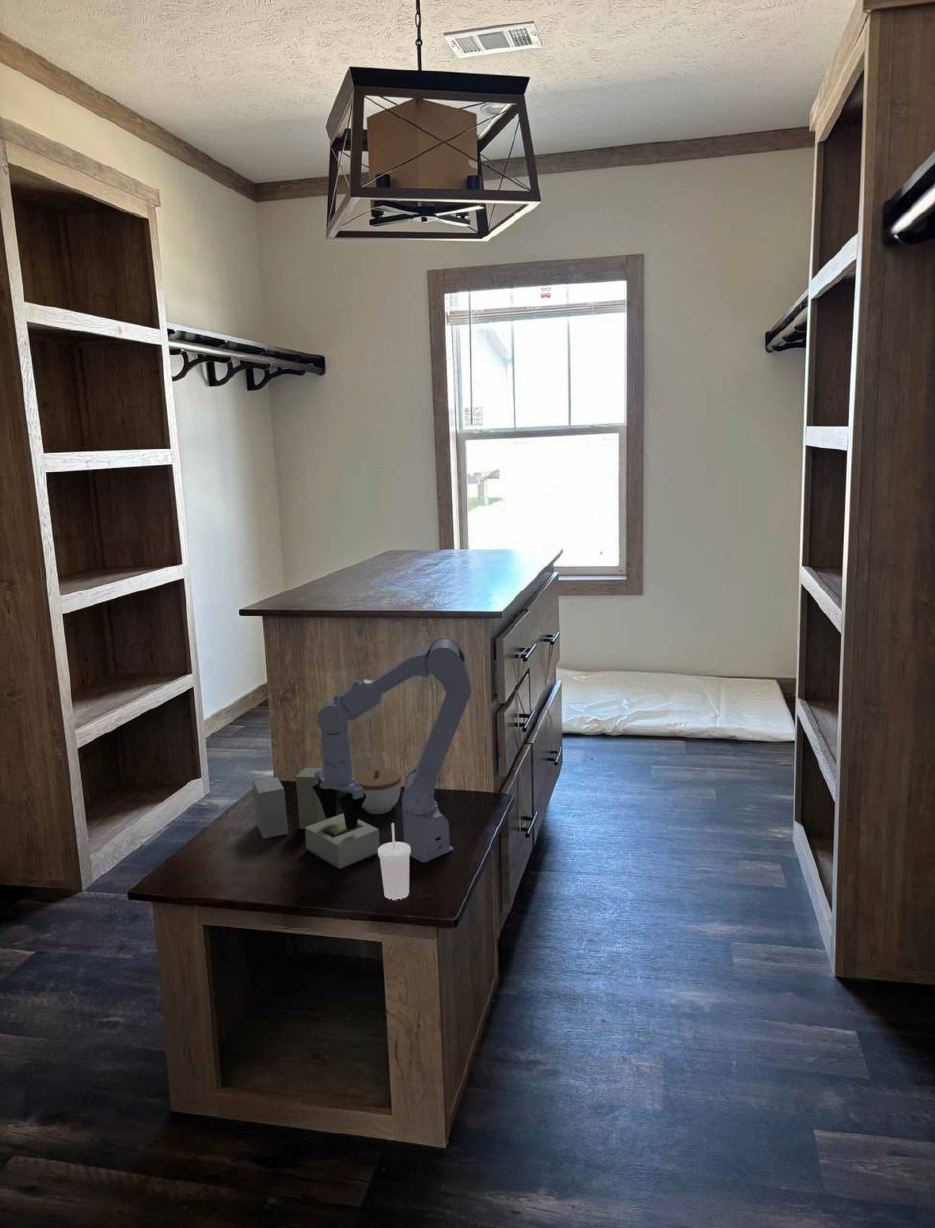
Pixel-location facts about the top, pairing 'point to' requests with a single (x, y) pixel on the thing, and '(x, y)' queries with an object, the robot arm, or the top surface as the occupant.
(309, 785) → the skincare box
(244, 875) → the top surface
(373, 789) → the lidded jar
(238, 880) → the top surface
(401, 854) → the beverage cup
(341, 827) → the wooden rectangular block
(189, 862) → the top surface
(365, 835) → the slot box
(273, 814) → the small box
